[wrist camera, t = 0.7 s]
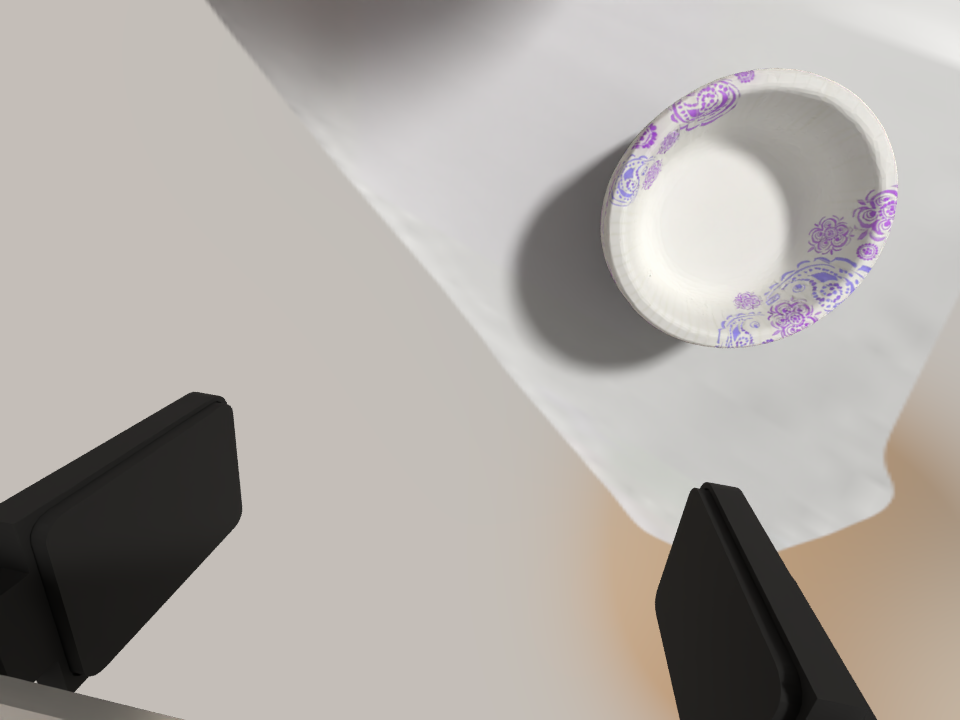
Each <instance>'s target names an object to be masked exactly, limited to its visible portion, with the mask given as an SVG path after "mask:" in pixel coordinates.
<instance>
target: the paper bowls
mask: <svg viewBox="0 0 960 720" xmlns="http://www.w3.org/2000/svg"><path fill="white" fill-rule="evenodd" d="M897 194H898V176H897V167H896V161H895V157H894V153H893V150H892V147H891V143H890V141H889V139H888V136H887V134H886V132H885V130H884V128H883V126H882V124H881V122H880V121H879V120H878V118H877V117H876V116H875V114H874V113H873V112H872V111H871V109H870V108H869V107H868V106H867V105H866V104H865V103H864V101H862V100H861V99H860V98H859V97H858V96H856V95H855V94H854V93H852V92H851V91H850V90H849V89H847V88H845V87H843V86H842V85H840V84H838V83H836V82H834V81H832V80H829V79H827V78H826V77H823V76H820V75H817V74H814V73H811V72H807V71H801V70H795V69H782V68H781V69H779V68H767V69H755V70H751V71H746V72H741V73H737V74H733V75H729V76H727V77H723V78H720V79H717V80H715V81H712V82H710V83H708V84H706V85H704V86H702V87H700V88H698V89H696V90H694V91H693V92H691V93H689V94H688V95H686V96H684V97H683V98H681V99H679V100H678V101H676V102H675V103H674V104H672V105H671V106H669V107H668V108H666V109H665V110H664V111H663V112H662V113H661V114H659V115H658V116H657V117H656V118H655V119H654V120H652V121H651V122H650V123H649V124H648V125H647V126H646V127H645V128H644V129H643V130H642V131H641V132H640V133H639V134H638V136H637V137H636V138H635V139H634V141H633V142H632V143H631V144H630V146H629V147H628V149H627V150H626V151H625V153H624V154H623V156H622V158H621V159H620V161H619V163H618V165H617V166H616V168H615V170H614V172H613V174H612V176H611V179H610V181H609V184H608V187H607V190H606V193H605V196H604V201H603V206H602V210H601V220H600V223H601V226H600V229H601V232H600V233H601V243H602V249H603V253H604V257H605V260H606V263H607V266H608V269H609V271H610V273H611V276H612V278H613V280H614V281H615V283H616V285H617V287H618V288H619V290H620V291H621V293H622V294H623V296H624V297H625V298H626V299H627V301H628V302H629V303H630V305H631V306H632V307H633V308H634V309H635V311H636V312H637V313H638V314H639V315H640V316H641V317H642V318H644V319H645V320H646V321H647V322H648V323H650V324H651V325H652V326H654V327H655V328H657V329H659V330H660V331H662V332H664V333H666V334H668V335H670V336H673V337H675V338H677V339H680V340H682V341H685V342H688V343H692V344H697V345H701V346H707V347H717V348H739V347H748V346H756V345H761V344H766V343H769V342H773V341H776V340H779V339H782V338H785V337H787V336H790V335H793V334H794V333H797V332H799V331H801V330H803V329H805V328H807V327H808V326H810V325H812V324H814V323H815V322H816V321H818V320H820V319H821V318H823V317H824V316H826V315H827V314H828V313H830V312H831V311H832V310H834V309H835V308H836V307H837V306H838V305H839V304H840V303H841V302H843V301H844V300H845V299H846V298H847V297H848V296H849V295H850V294H851V293H852V292H853V291H854V290H855V289H856V288H857V287H858V285H859V284H860V283H861V282H862V281H863V280H864V278H865V277H866V275H867V274H868V273H869V271H870V270H871V269H872V267H873V265H874V264H875V262H876V260H877V258H878V257H879V255H880V253H881V251H882V249H883V247H884V245H885V243H886V240H887V238H888V235H889V233H890V229H891V226H892V223H893V220H894V214H895V209H896V205H897Z"/></svg>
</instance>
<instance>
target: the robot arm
mask: <svg viewBox="0 0 960 720" xmlns="http://www.w3.org/2000/svg"><path fill="white" fill-rule="evenodd" d="M241 514H242V500H241V490H240V480H239V471H238V460H237V449H236V439H235V429H234V419H233V411H232V408H231V406H229V405H227V402H226V401H225V399H224V398H223V397H221V396H216V395H211V394H205V393H200V392H192V393H189V394H187V395H185V396H183V397H182V398H180V399H179V400H177V401H175V402H173V403H172V404H170V405H168V406H166V407H165V408H163V409H161V410H160V411H158V412H156V413H154V414H153V415H151V416H149V417H148V418H146V419H144V420H142V421H141V422H139V423H137V424H136V425H134V426H132V427H131V428H129V429H127V430H125V431H124V432H122V433H120V434H118V435H117V436H115V437H113V438H112V439H110V440H108V441H106V442H105V443H103V444H101V445H100V446H98V447H96V448H95V449H93V450H91V451H90V452H88V453H86V454H84V455H82V456H81V457H79V458H78V459H76V460H74V461H72V462H70V463H69V464H67V465H66V466H64V467H62V468H60V469H58V470H57V471H55V472H53V473H52V474H50V475H48V476H46V477H45V478H43V479H41V480H40V481H38V482H36V483H35V484H33V485H31V486H29V487H28V488H26V489H24V490H23V491H21V492H19V493H17V494H16V495H14V496H12V497H10V498H9V499H7V500H5V501H4V502H2V503H0V720H183V719H179V718H175V717H171V716H167V715H163V714H159V713H155V712H150V711H147V710H143V709H138V708H135V707H130V706H127V705H122V704H118V703H114V702H110V701H106V700H102V699H98V698H94V697H90V696H86V695H82V694H77V693H74V692H75V691H76V690H77V689H78V688H79V686H81V684H82V683H83V682H84V681H85V680H86V679H87V678H88V677H89V676H94V675H96V674H98V673H99V672H101V671H102V670H103V669H104V668H105V667H106V666H107V665H108V664H109V663H110V662H111V661H112V660H113V658H114V657H115V656H116V655H117V654H118V653H119V652H120V651H121V650H122V649H123V648H124V646H125V645H126V644H127V643H128V642H129V641H130V640H131V639H132V638H133V637H134V636H135V635H136V634H137V633H138V631H139V630H140V629H141V628H142V627H143V626H144V625H145V623H147V622H148V621H149V620H150V618H151V617H152V616H153V615H154V614H155V613H156V612H157V611H158V610H159V608H161V607H162V605H163V604H164V603H165V602H166V601H167V600H168V599H169V598H170V597H171V596H172V595H173V594H174V592H175V591H176V590H177V589H178V588H179V587H180V586H181V585H182V584H183V583H184V582H185V580H187V578H188V577H189V576H190V575H191V574H192V573H193V572H194V571H195V570H196V569H197V568H198V567H199V565H200V564H201V563H202V562H203V561H204V560H205V559H206V558H207V557H208V556H209V555H210V554H211V552H212V551H213V550H214V549H215V548H216V547H217V546H218V545H219V544H220V543H221V542H222V541H223V539H224V538H225V537H226V536H227V535H228V534H229V533H230V532H231V531H232V529H234V528H235V526H236V525H237V524H238V522H239V520H240V517H241ZM655 610H656V616H657V620H658V624H659V629H660V633H661V638H662V642H663V647H664V651H665V655H666V660H667V664H668V669H669V673H670V677H671V682H672V686H673V691H674V695H675V700H676V704H677V709H678V713H679V718H680V720H877V719H876V717H875V715H874V714H873V712H872V710H871V709H870V707H869V705H868V704H867V702H866V700H865V698H864V697H863V695H862V693H861V692H860V690H859V688H858V687H857V685H856V683H855V682H854V680H853V678H852V676H851V675H850V673H849V671H848V670H847V668H846V666H845V665H844V663H843V661H842V659H841V658H840V656H839V654H838V653H837V651H836V649H835V648H834V646H833V644H832V643H831V641H830V639H829V638H828V636H827V634H826V632H825V631H824V629H823V627H822V626H821V624H820V622H819V620H818V619H817V617H816V615H815V614H814V612H813V610H812V609H811V608H810V605H809V603H808V602H807V600H806V599H805V597H804V595H803V593H802V592H801V590H800V588H799V587H798V585H797V583H796V581H795V580H794V579H793V577H792V576H791V575H790V573H789V571H788V570H787V568H786V566H785V564H784V563H783V561H782V559H781V558H780V556H779V554H778V552H777V551H776V549H775V547H774V546H773V544H772V542H771V541H770V539H769V537H768V535H767V534H766V532H765V530H764V529H763V527H762V525H761V524H760V522H759V520H758V518H757V517H756V515H755V513H754V512H753V510H752V508H751V506H750V505H749V503H748V501H747V500H746V498H745V496H744V495H743V493H742V491H741V490H740V489H739V488H736V487H731V486H726V485H720V484H714V483H709V482H706V483H704V484H703V485H702V486H701V488H700V489H698V488H693V489H692V490H691V491H690V494H689V496H688V499H687V502H686V505H685V508H684V511H683V514H682V517H681V520H680V523H679V526H678V529H677V532H676V535H675V538H674V541H673V544H672V548H671V550H670V554H669V556H668V559H667V562H666V565H665V569H664V571H663V574H662V577H661V580H660V583H659V586H658V590H657V594H656V599H655ZM35 681H37V683H38V684H37V683H34V682H35Z"/></svg>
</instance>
